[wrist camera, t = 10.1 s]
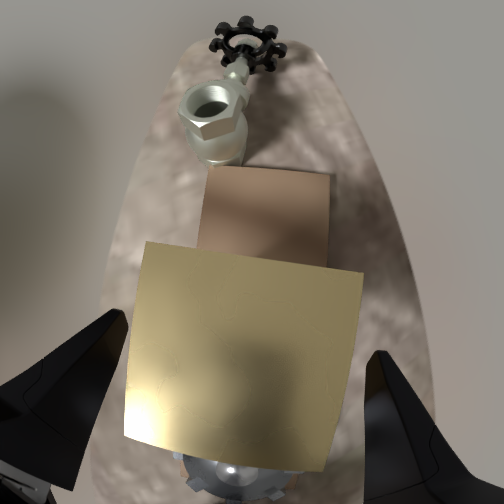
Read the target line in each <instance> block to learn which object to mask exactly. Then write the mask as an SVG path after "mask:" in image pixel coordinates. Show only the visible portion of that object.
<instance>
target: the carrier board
mask: <svg viewBox="0 0 504 504" xmlns="http://www.w3.org/2000/svg"><path fill="white" fill-rule="evenodd" d="M329 205H330V175H325V174H317V173H308V172H298V171H288V170H277V169H265V168H251V167H235V166H221V167H218V168H213V167H212V166H211V165H209V170H208V176H207V182H206V188H205V194H204V200H203V207H202V213H201V220H200V227H199V234H198V242H197V249H201V250H208V251H215V252H222V253H228V254H235V255H242V256H249V257H256V258H263V259H269V260H276V261H283V262H290V263H297V264H304V265H311V266H318V267H325V268H327V258H328V237H329ZM298 474H299V473H293V475H292V477H291V479H290V480H289V482H288V483H287V484H286V485H285V489H295V486H296V482H297V478H298ZM181 476H182V477H186V478H188V477H189V474H188V472H187V471H186V468H185V466H184V462H183V460H181Z"/></svg>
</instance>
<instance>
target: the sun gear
mask: <svg viewBox="0 0 504 504" xmlns="http://www.w3.org/2000/svg"><path fill="white" fill-rule="evenodd" d="M173 458H174V459H178V460H183V462H184V466H185V468H186V471H187V472H188V474H189V477H188V479H187V481H186V484H187V485H188V486H190V487H191V488H192V489H193V490H194V491H195V492H198V491H200V490H202V489H204V490H205V491H207V492H209V493H211V494H213V495H215V496H218V497H221V498H224V499H226V504H242V501H250V500H257V499H261V498H264V497H268V498H269V499H271V500H272V501H275V500H277V499H279V498H281V497H283V496H285V495H286V492H285V485H286V484H287V483H288V482H289V480H290V479H291V477H292V475H293V473H300V474H304V472H301V471H284V470H272V469H263V468H254V467H247V466H240V465H234V464H228V463H222V462H217V461H212V460H207V459H203V458H198V457H194V456H190V455H186V454H182V453H178V452H174V451H173Z"/></svg>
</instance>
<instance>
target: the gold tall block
mask: <svg viewBox="0 0 504 504" xmlns="http://www.w3.org/2000/svg"><path fill="white" fill-rule="evenodd" d="M363 279H364V273H360V272H353V271H346V270H339V269H332V268H325V267H318V266H311V265H304V264H297V263H290V262H283V261H276V260H269V259H263V258H256V257H249V256H242V255H235V254H228V253H222V252H215V251H208V250H201V249H195V248H188V247H181V246H174V245H168V244H161V243H155V242H148V241H146V245H145V249H144V254H143V260H142V265H141V270H140V276H139V282H138V288H137V294H136V300H135V307H134V314H133V322H132V329H131V338H130V347H129V357H128V368H127V382H126V399H125V432H124V435H125V436H128V437H131V438H133V439H136V440H139V441H142V442H145V443H148V444H151V445H154V446H157V447H161V448H164V449H167V450H171V451H174V452H178V453H182V454H186V455H190V456H194V457H198V458H203V459H207V460H212V461H217V462H222V463H228V464H234V465H240V466H247V467H254V468H263V469H272V470H284V471H301V472H323V470H324V467H325V464H326V461H327V457H328V454H329V451H330V448H331V444H332V441H333V437H334V434H335V430H336V426H337V423H338V419H339V415H340V411H341V407H342V403H343V399H344V394H345V390H346V385H347V381H348V376H349V371H350V366H351V361H352V356H353V350H354V344H355V338H356V332H357V326H358V319H359V312H360V305H361V297H362V288H363Z"/></svg>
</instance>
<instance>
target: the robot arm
mask: <svg viewBox="0 0 504 504" xmlns="http://www.w3.org/2000/svg"><path fill="white" fill-rule="evenodd" d="M127 332H128V323H127V320H126V317H125V314H124V312H123V311H122V310H119V309H111V310H110V311H108V312H107V313H105V314H104V315H102V316H101V317H100V318H98V319H97V320H95V321H94V322H92V323H91V324H90V325H88V326H87V327H85V328H84V329H83V330H81V331H80V332H78V333H77V334H76V335H74V336H73V337H71V338H70V339H69V340H67V341H66V342H64V343H63V344H62V345H60V346H59V347H58V348H56V349H55V350H53V351H52V352H51V353H49V354H48V355H47V356H46V357H44V359H41V360H40V361H38V362H37V363H36V364H34V365H33V366H32V367H30V368H29V369H28V370H26V371H24V372H23V373H21V374H19V375H18V376H16V377H15V378H13V379H11V380H10V381H8V382H6V383H5V384H3V385H1V386H0V504H57V503H56V501H55V499H54V496H53V494H52V492H51V489H50V487H51V484H53V485H56V486H58V487H61V488H64V489H66V490H69V491H73V489H74V486H75V482H76V479H77V476H78V472H79V469H80V466H81V462H82V459H83V456H84V453H85V449H86V447H87V444H88V441H89V438H90V435H91V432H92V429H93V427H94V424H95V421H96V418H97V416H98V413H99V410H100V408H101V405H102V402H103V400H104V397H105V395H106V392H107V390H108V387H109V385H110V382H111V380H112V377H113V375H114V372H115V370H116V367H117V365H118V362H119V358H120V355H121V352H122V348H123V345H124V342H125V339H126V335H127ZM364 420H365V481H364V502H363V504H504V489H503V488H500V487H498V486H495V485H493V484H490V483H487V482H485V481H482V480H480V479H478V478H476V477H475V476H473V475H472V474H471V473H470V472H469V471H468V470H467V468H466V467H465V466H464V464H463V463H462V462H461V460H460V459H459V458H458V457H457V455H456V454H455V452H454V451H453V450H452V448H451V447H450V446H449V444H448V443H447V441H446V440H445V438H444V437H443V435H442V434H441V432H440V431H439V429H438V428H437V426H436V425H435V423H434V421H433V419H432V418H431V416H430V415H429V413H428V412H427V410H426V408H425V407H424V405H423V404H422V402H421V401H420V399H419V398H418V396H417V395H416V393H415V391H414V390H413V388H412V387H411V385H410V384H409V382H408V381H407V379H406V378H405V376H404V375H403V374H402V372H401V371H400V369H399V368H398V366H397V365H396V363H395V362H394V360H393V359H392V357H391V356H390V355H389V353H388V352H387V351H385V350H376V351H375V352H374V354H373V355H372V357H371V358H370V360H369V361H368V363H367V365H366V379H365V397H364Z"/></svg>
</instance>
